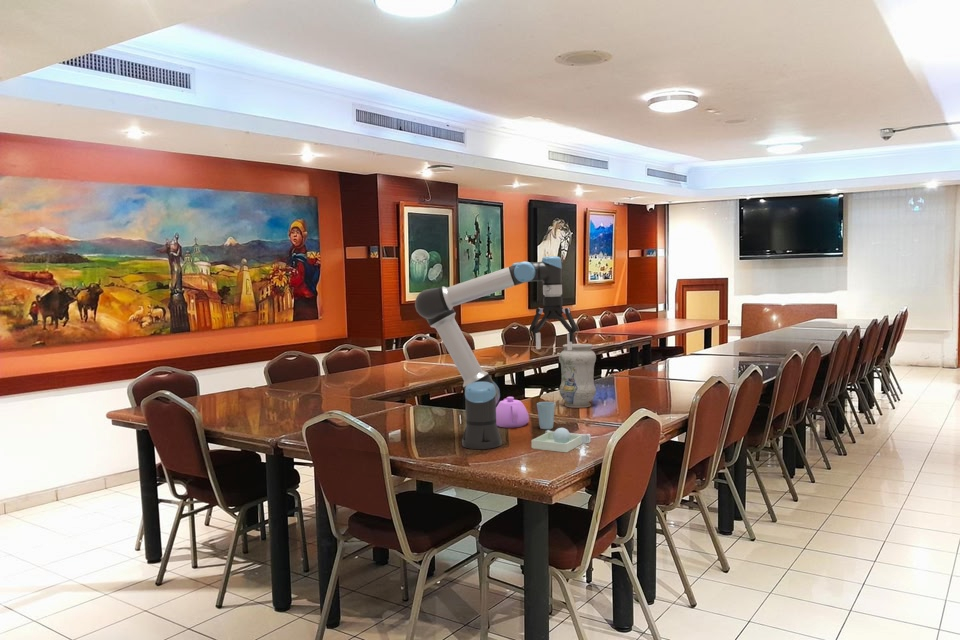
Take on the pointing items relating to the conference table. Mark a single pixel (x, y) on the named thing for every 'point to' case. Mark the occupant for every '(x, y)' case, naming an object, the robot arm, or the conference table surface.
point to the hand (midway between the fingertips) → (553, 349)
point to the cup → (546, 414)
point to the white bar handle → (584, 437)
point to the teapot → (511, 413)
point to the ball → (561, 435)
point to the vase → (577, 375)
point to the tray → (549, 444)
